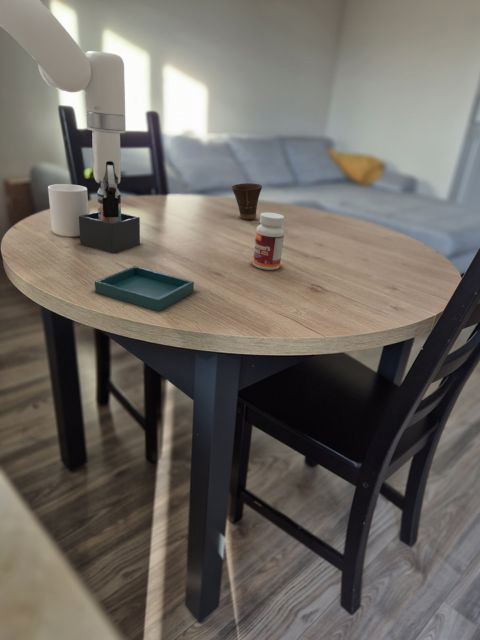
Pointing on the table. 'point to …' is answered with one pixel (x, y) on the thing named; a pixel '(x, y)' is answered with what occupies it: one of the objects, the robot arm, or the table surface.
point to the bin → (109, 232)
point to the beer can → (100, 207)
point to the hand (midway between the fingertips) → (109, 212)
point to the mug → (67, 208)
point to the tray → (144, 287)
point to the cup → (247, 199)
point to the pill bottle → (269, 241)
